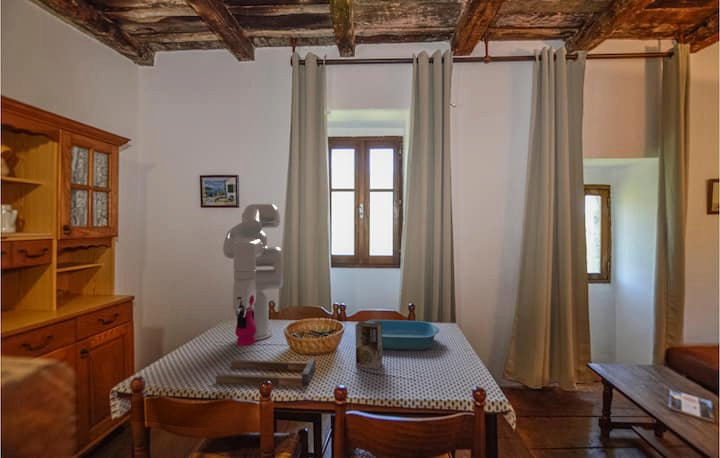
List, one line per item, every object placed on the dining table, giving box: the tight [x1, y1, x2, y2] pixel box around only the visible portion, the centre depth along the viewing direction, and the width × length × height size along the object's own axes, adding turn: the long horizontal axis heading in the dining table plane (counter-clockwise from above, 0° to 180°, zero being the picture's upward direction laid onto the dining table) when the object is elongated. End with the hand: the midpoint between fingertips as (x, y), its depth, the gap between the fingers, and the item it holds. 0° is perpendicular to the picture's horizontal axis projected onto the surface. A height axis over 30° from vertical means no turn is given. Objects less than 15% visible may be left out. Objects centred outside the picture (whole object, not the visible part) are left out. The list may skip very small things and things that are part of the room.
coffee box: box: [354, 320, 383, 370], centre depth 130 cm, size 9×6×16 cm
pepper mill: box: [235, 295, 257, 347], centre depth 121 cm, size 7×7×20 cm
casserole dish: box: [368, 319, 440, 351], centre depth 153 cm, size 37×22×7 cm, turn 83°
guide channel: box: [215, 357, 317, 387], centre depth 121 cm, size 13×32×4 cm, turn 86°
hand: (245, 324), depth 121 cm, fingers closed on pepper mill, 5 cm apart
